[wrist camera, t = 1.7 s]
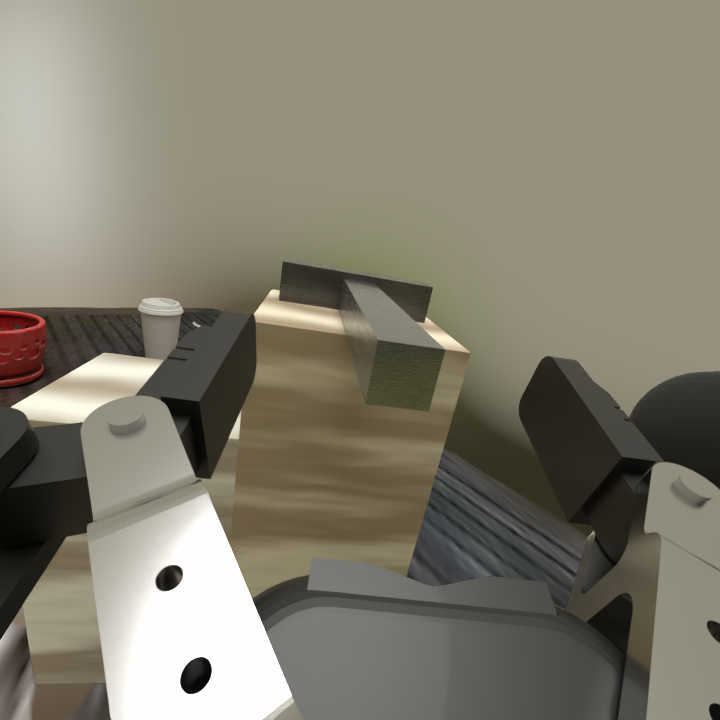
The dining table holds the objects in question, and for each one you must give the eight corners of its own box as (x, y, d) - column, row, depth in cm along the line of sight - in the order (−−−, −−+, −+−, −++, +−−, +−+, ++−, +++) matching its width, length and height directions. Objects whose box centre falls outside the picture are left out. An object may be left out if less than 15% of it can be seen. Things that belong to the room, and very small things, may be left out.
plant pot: (-67, 386, 65) (-80, 320, 61) (3, 362, 77) (-4, 306, 73) (9, 398, 65) (1, 334, 61) (67, 372, 78) (62, 318, 74)
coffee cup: (185, 366, 92) (187, 307, 87) (141, 368, 86) (140, 305, 81) (177, 353, 99) (179, 298, 94) (136, 354, 93) (135, 296, 88)
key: (541, 424, 15) (567, 354, 14) (231, 389, 13) (238, 304, 12) (415, 315, 33) (422, 282, 32) (282, 294, 31) (286, 258, 31)
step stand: (376, 679, 34) (470, 353, 24) (34, 683, 29) (-26, 281, 19) (361, 567, 45) (421, 313, 35) (112, 557, 40) (100, 262, 30)
